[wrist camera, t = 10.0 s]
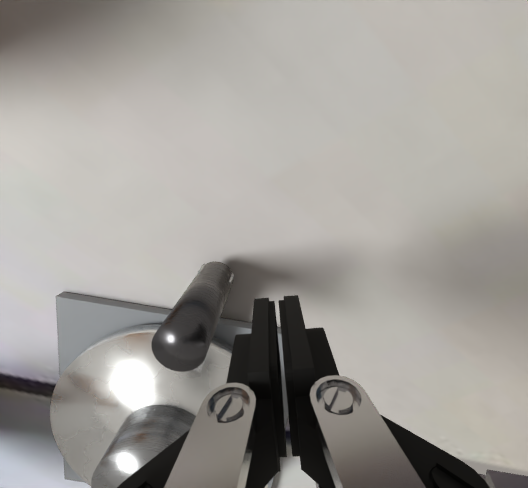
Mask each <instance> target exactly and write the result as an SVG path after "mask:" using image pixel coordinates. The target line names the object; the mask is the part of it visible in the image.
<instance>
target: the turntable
mask: <svg viewBox="0 0 528 488" xmlns="http://www.w3.org/2000/svg"><path fill="white" fill-rule="evenodd" d="M233 276H234V274H232V271H231V270H230V268H229V267H228V266H227V265H225V264H223V263H221V262H210V263H207V264H206V265H205V264H203V266H202V267H201V268H200V270H199V271H198V274H197V276H196V277H195V278H194V280H193V281H192V283H191V284H190V285H189V287H188V288H187V290H186V291H185V292H184V294H183V295H182V297H181V298H180V299H179V301H178V302H177V304H176V305H175V306H174V308H173V309H172V310H171V312H170V313H169V315H168V316H167V317H166V319H165V320H164V322H163V323H162V324H161V325H159V324H150V325H140V326H134V327H129V328H125V329H121V330H119V331H116V332H113V333H110V334H108V335H106V336H104V337H103V338H101V339H99V340H97V341H96V342H94V343H93V344H92V345H90V346H89V347H88V348H87V349H86V350H85V351H84V352H82V353H81V354H80V355H79V356H78V357H77V358H76V359H75V360H74V361H73V362H72V363H71V364H70V365H69V366H68V367H67V369H66V370H65V371H64V372H63V374H62V375H61V377H60V378H59V380H58V382H57V384H56V386H55V389H54V391H53V395H52V399H51V405H50V421H51V428H52V432H53V435H54V439H55V441H56V443H57V446H58V448H59V450H60V452H61V453H62V455H63V457H64V458H65V460H66V461H67V463H68V464H69V465H70V466H71V468H72V469H73V470H74V471H75V472H76V473H77V474H78V475H79V476H80V477H81V479H83V480H84V481H85V482H86V483H87V484H89V485H90V486H91V480H92V476H93V473H94V471H95V469H96V467H97V465H98V464H99V462H100V460H101V459H102V457H103V455H104V454H105V452H106V450H107V449H108V447H109V445H110V444H111V442H112V440H113V438H114V437H115V435H116V433H117V432H118V430H119V428H120V427H121V425H122V423H123V422H124V420H125V419H126V418H127V417H128V416H129V415H130V414H131V413H132V412H134V411H136V410H138V409H140V408H142V407H145V406H150V405H170V406H174V407H178V408H181V409H184V410H186V411H188V412H190V413H192V414H193V415H195V416H196V415H197V413H198V411H199V409H200V406H201V404H202V402H203V400H204V399H205V397H206V396H207V395H208V394H209V393H210V392H211V391H212V390H213V389H215V388H217V387H219V386H221V385H224V384H226V382H227V376H228V371H229V366H230V360H231V355H232V350H233V347H232V346H230V345H229V344H227V343H225V342H223V341H221V340H220V339H218V338H216V337H214V336H213V335H214V333H215V330H216V327H217V325H218V322H219V319H220V316H221V314H222V311H223V308H224V305H225V303H226V300H227V297H228V294H229V292H230V289H231V286H232V283H233Z"/></svg>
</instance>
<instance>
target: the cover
mask: <svg viewBox="0 0 528 488" xmlns="http://www.w3.org/2000/svg"><path fill="white" fill-rule="evenodd" d="M195 418H196V416H195V415H193V414H192V413H190V412H188V411H186V410H184V409H181V408H178V407H174V406H170V405H150V406H145V407H142V408H140V409H138V410H136V411H134V412H132V413H131V414H130V415H129V416H128V417H127V418H126V419H125V420H124V422H123V423H122V425H121V427H120V428H119V430H118V432H117V433H116V435H115V437H114V438H113V440H112V442H111V444H110V445H109V447H108V449H107V450H106V452H105V454H104V455H103V457H102V459H101V460H100V462H99V464H98V465H97V467H96V469H95V471H94V473H93V476H92V480H91V487H92V488H117V487H118V486H119V485H120V484H121V483H122V482H123V481H125V480H126V479H127V478H128V477H130V476H131V475H132V474H134V473H135V472H136V471H137V470H139V469H140V468H141V467H143V466H144V465H145V464H146V463H148V462H149V461H150V460H151V459H153V458H154V457H155V456H157V455H158V454H159V453H160V452H162V451H163V450H164V449H165V448H167V447H168V446H169V445H171V444H172V443H173V442H174V441H176V440H177V439H178V438H179V437H181V436H182V435H183V434H185V433H186V432H187V431H188V430H190V429H191V427H192V424H193V422H194V420H195Z"/></svg>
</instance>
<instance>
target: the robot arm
mask: <svg viewBox="0 0 528 488" xmlns="http://www.w3.org/2000/svg"><path fill="white" fill-rule="evenodd" d="M279 310H280V323H281V335H282V348H283V360H284V372H285V383H286V393H287V403H288V414H289V424H290V434H291V445H292V455H293V456H300V461H301V470H303V471H304V472H305V473H306V474H307V475H309V476H310V477H311V478H312V479H313V480H314V481H315V482H316V488H528V476H524V475H517V474H511V473H505V472H499V471H493V470H487V472H486V475H482V474H478V473H477V472H476V471H475V470H474V469H472V468H471V467H469V466H468V465H467V464H465V463H464V462H462V461H461V460H459V459H457V458H455V457H454V456H452V455H450V454H448V453H447V452H445V451H443V450H441V449H440V448H438V447H436V446H434V445H433V444H431V443H429V442H427V441H426V440H424V439H422V438H420V437H419V436H417V435H415V434H413V433H412V432H410V431H408V430H406V429H405V428H403V427H401V426H399V425H398V424H396V423H394V422H392V421H390V420H389V419H387V418H385V417H383V416H382V415H380V414H379V412H378V411H377V409H376V407H375V406H374V404H373V403H372V401H371V400H370V398H369V396H368V395H367V393H366V392H365V390H364V389H363V388H362V387H361V385H360V384H358V383H357V382H355V381H354V380H352V379H350V378H347V377H344V376H339V373H338V370H337V367H336V364H335V361H334V358H333V355H332V352H331V349H330V346H329V343H328V340H327V337H326V334H325V331H324V329H323V328H311V329H305V325H304V320H303V316H302V311H301V307H300V302H299V298H298V295H296V296H284V300H281V301H279ZM280 457H287V454H286V438H285V423H284V407H283V392H282V376H281V362H280V352H279V342H278V332H277V322H276V312H275V303H274V301H269V298H261V299H255V300H254V309H253V320H252V330H251V333H249V334H237V335H235V339H234V344H233V350H232V355H231V360H230V366H229V371H228V376H227V382H226V384H224V385H221V386H219V387H217V388H215V389H213V390H212V391H211V392H210V393H209V394H208V395H207V396H206V397H205V399H204V400H203V402H202V404H201V406H200V409H199V411H198V413H197V415H196V418H195V420H194V422H193V424H192V427H191V429H190V430H188V431H187V432H186V433H185V434H183V435H182V436H181V437H179V438H178V439H177V440H176V441H174V442H173V443H172V444H171V445H169V446H168V447H167V448H165V449H164V450H163V451H162V452H160V453H159V454H158V455H157V456H155V457H154V458H153V459H151V460H150V461H149V462H148V463H146V464H145V465H144V466H143V467H141V468H140V469H139V470H137V471H136V472H135V473H134V474H132V475H131V476H130V477H128V478H127V479H126V480H125V481H123V482H122V483H121V484H120V485H119V486H118V487H117V488H268V483H269V481H270V480H271V479H272V478H273V477H274V476H275V474H276V473H277V472H278V471H280Z"/></svg>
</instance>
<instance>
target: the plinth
mask: <svg viewBox="0 0 528 488" xmlns="http://www.w3.org/2000/svg"><path fill="white" fill-rule="evenodd" d="M56 311H57V332H58V352H59V373H60V377H61V375H62V374H63V372H64V371H65V370H66V369H67V367H68V366H69V365H70V364H71V363H72V362H73V361H74V360H75V359H76V358H77V357H78V356H79V355H80V354H81V353H82V352H84V351H85V350H86V349H87V348H88V347H89V346H90V345H92V344H93V343H94V342H96V341H97V340H99V339H101V338H103V337H104V336H106V335H108V334H110V333H113V332H116V331H119V330H121V329H125V328H129V327H134V326H140V325H150V324H159V325H161V324H162V323H163V322H164V320H165V319H166V317H167V316H168V315H169V313H170V312H171V310H170V309H164V308H158V307H152V306H146V305H140V304H134V303H128V302H122V301H116V300H110V299H104V298H98V297H92V296H86V295H80V294H74V293H68V292H62V293H61V294H59V295H57V296H56ZM251 330H252V323H248V322H242V321H236V320H230V319H224V318H220V319H219V322H218V325H217V327H216V330H215V333H214V335H213V336H214V337H216V338H218V339H220V340H221V341H223V342H225V343H227V344H229V345H230V346H232V347H233V344H234V339H235V335H237V334H249V333H251ZM277 332H278V342H279V352H280V362H281V376H282V392H283V407H284V423H285V428H286V423H287V419H288V415H289V414H288V403H287V393H286V383H285V372H284V360H283V348H282V335H281V328H278V327H277ZM64 476H65V479H67V480H73V481H79V482H85V481H84V480H83V479H81V477H80V476H79V475H78V474H77V473H76V472H75V471H74V470H73V469H72V468H71V466H70V465H69V464H68V463H67V461H66V460H65V458H64ZM273 478H274V477H273ZM273 478H272V479H271V480H270V481H269V483H268V488H271V487H272V483H273ZM85 483H86V482H85Z"/></svg>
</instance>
